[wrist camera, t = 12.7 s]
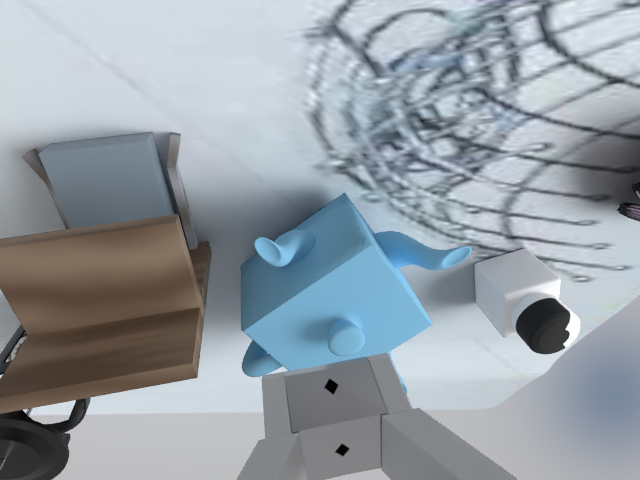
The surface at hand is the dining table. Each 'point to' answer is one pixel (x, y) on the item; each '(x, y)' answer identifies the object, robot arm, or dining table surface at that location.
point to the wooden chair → (104, 303)
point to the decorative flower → (631, 205)
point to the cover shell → (108, 179)
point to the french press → (33, 433)
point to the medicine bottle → (525, 301)
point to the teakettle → (332, 292)
